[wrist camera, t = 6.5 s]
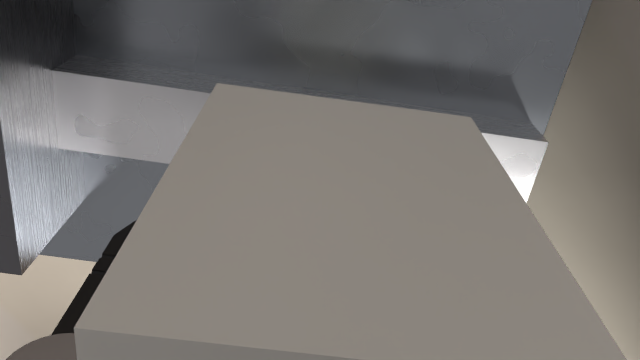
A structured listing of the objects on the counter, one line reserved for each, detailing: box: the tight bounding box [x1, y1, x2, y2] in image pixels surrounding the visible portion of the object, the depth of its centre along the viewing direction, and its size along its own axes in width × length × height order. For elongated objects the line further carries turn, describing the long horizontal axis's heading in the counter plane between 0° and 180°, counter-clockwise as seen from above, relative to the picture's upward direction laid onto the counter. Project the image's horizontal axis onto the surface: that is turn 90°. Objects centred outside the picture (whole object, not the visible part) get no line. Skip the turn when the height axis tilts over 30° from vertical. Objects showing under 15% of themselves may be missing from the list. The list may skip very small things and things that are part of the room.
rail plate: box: [0, 0, 592, 275], centre depth 15 cm, size 16×12×5 cm
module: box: [74, 83, 627, 360], centre depth 8 cm, size 4×6×6 cm
